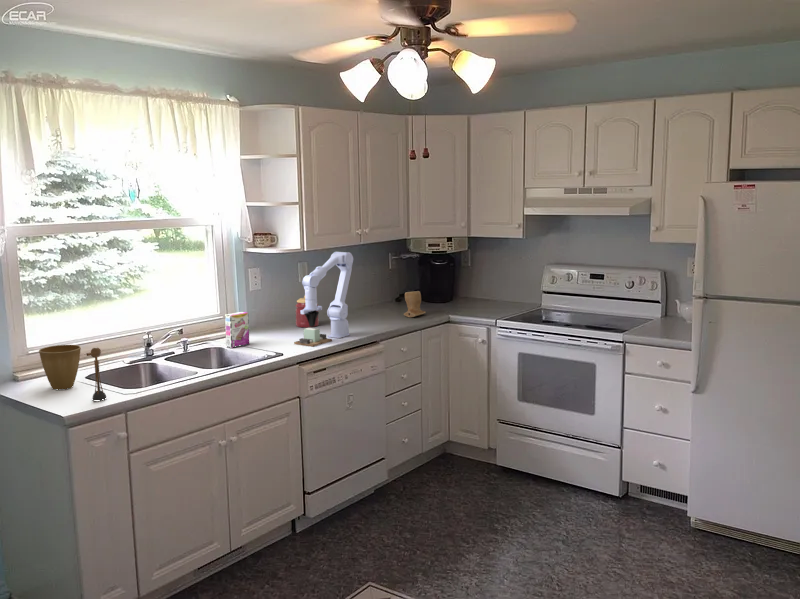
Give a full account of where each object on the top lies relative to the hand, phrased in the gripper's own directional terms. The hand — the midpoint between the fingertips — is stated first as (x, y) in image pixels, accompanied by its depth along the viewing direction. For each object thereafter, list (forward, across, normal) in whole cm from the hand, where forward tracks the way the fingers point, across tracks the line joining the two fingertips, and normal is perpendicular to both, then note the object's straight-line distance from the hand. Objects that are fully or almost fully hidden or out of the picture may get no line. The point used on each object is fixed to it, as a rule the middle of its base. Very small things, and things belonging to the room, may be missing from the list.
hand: (312, 326), depth 357 cm
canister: (+9, -34, -31) cm, 46 cm away
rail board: (+8, 0, 0) cm, 8 cm away
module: (+7, 0, 0) cm, 7 cm away
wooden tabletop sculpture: (+9, +116, -8) cm, 116 cm away
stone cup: (+9, -88, +6) cm, 88 cm away
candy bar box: (+9, +24, -28) cm, 38 cm away
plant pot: (+9, +112, -35) cm, 118 cm away
